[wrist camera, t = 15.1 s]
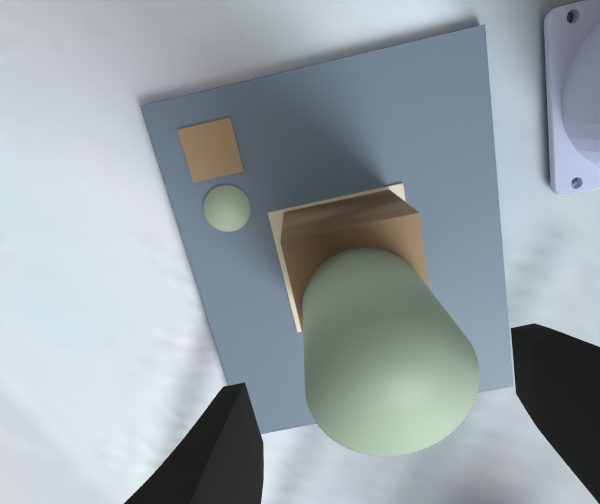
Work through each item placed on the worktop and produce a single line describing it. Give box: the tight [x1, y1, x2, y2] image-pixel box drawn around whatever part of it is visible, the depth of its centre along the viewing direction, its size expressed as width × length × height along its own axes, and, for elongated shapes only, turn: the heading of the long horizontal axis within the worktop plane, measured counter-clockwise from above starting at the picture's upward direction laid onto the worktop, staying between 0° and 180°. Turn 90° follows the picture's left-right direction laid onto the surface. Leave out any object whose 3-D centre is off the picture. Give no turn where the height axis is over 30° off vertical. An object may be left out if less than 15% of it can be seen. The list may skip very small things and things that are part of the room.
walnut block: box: [280, 189, 430, 335], centre depth 18 cm, size 5×5×5 cm
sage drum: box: [302, 247, 480, 456], centre depth 14 cm, size 5×5×5 cm
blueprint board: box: [140, 24, 513, 434], centre depth 21 cm, size 15×18×1 cm
